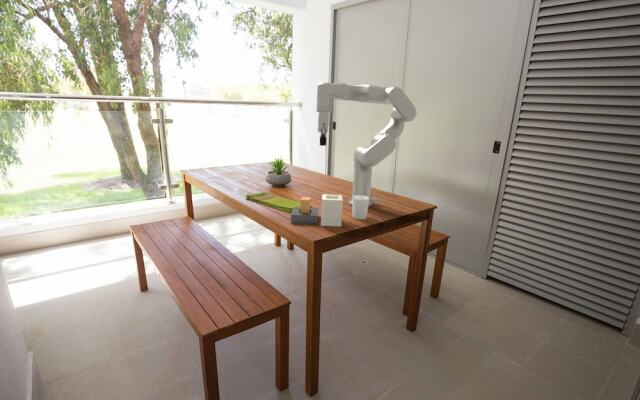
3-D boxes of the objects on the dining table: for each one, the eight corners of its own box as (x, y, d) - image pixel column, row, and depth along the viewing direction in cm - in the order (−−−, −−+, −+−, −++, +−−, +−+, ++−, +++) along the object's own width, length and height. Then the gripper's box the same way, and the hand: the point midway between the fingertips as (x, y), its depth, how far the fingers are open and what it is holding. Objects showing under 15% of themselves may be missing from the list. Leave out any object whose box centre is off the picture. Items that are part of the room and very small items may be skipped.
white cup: (366, 214, 162) (367, 195, 159) (369, 220, 154) (370, 200, 151) (350, 214, 161) (351, 195, 159) (352, 219, 154) (353, 199, 151)
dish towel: (265, 195, 191) (265, 189, 191) (313, 208, 171) (313, 202, 170) (245, 200, 180) (245, 194, 179) (293, 215, 159) (293, 208, 158)
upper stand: (340, 219, 154) (341, 195, 150) (341, 226, 145) (342, 200, 142) (321, 218, 154) (322, 194, 150) (321, 225, 145) (322, 199, 142)
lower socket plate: (318, 215, 158) (318, 207, 157) (317, 224, 146) (318, 215, 145) (293, 214, 158) (293, 206, 157) (290, 223, 146) (291, 214, 145)
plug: (309, 216, 154) (310, 197, 151) (309, 218, 150) (309, 200, 147) (301, 215, 154) (301, 197, 151) (300, 218, 150) (300, 199, 147)
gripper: (316, 108, 169) (315, 142, 173) (316, 109, 152) (315, 146, 157) (331, 109, 169) (330, 142, 173) (332, 109, 152) (330, 146, 157)
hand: (322, 144), depth 165 cm, fingers open, 9 cm apart
